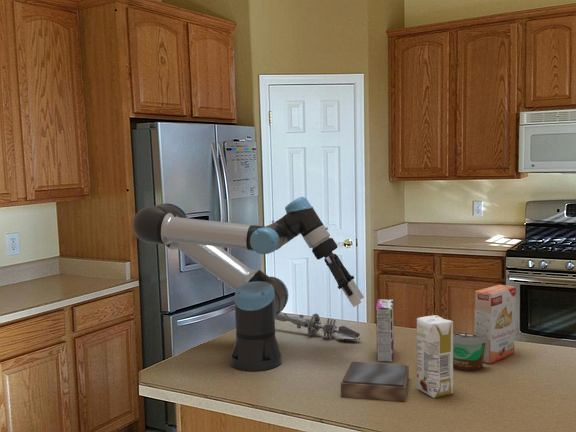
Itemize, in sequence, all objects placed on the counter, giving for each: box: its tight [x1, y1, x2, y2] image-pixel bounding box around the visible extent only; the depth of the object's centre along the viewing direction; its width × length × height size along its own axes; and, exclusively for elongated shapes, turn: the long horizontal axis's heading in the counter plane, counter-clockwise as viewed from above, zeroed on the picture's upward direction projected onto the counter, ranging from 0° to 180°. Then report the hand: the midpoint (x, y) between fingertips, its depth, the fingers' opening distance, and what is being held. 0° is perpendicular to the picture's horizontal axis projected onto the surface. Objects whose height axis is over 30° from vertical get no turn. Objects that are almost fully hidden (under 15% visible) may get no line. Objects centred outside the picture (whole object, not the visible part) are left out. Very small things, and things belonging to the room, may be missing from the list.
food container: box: [453, 332, 488, 372], centre depth 172 cm, size 12×6×10 cm, turn 70°
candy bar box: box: [375, 298, 395, 363], centre depth 184 cm, size 11×5×16 cm, turn 168°
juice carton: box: [416, 314, 454, 399], centre depth 155 cm, size 8×9×19 cm
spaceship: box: [275, 311, 362, 341], centre depth 207 cm, size 8×35×8 cm
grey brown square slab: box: [340, 361, 410, 402], centre depth 160 cm, size 16×16×4 cm
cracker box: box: [473, 284, 517, 365], centre depth 181 cm, size 14×6×21 cm, turn 131°
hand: (359, 302), depth 184 cm, fingers open, 13 cm apart
